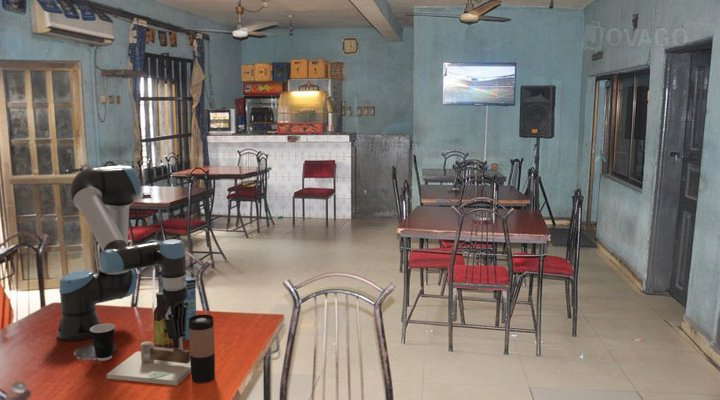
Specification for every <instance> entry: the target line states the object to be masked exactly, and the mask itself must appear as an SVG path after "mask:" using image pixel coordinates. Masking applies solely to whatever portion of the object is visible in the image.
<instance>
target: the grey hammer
mask: <svg viewBox="0 0 720 400" xmlns="http://www.w3.org/2000/svg"><path fill="white" fill-rule="evenodd" d="M140 352H141V362H142V363H151V362H153V361H154V360H161V361H170V362H178V363H186V364H187V363H188V362H189V361H190V350H188V349H187V350H186V349H183V350H179V349H173V348H171V347H169V348H162V347H155V345H154V341H149V340H148V341H143V342H141V343H140Z"/></svg>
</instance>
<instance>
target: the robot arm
mask: <svg viewBox="0 0 720 400" xmlns="http://www.w3.org/2000/svg"><path fill="white" fill-rule="evenodd" d="M140 193H141V181H140V178H139V174H138V172H137V171H136V169H135V168H134V167H132V166H130V165H111V166H99V167H93V166H92V167H88V168H85V169H83V170H81V171H80V172H79V173H77V175H75V176H74V178H73V180H72V181H71V184H70V189H69V196H70V199H71V202H72V203H73V205H74V207H75V208H77V209H79V210H80V212H81V214H82V215H83V217H84V219H85V221H86V223H87V224H88V226H89V228H90V231H91V232H92V234H93V236H94V238H95V239H96V241H97V243H98V245H99V246H100V248H101V250H102V251H101V252H100V254H99V266H98V272H95V273H94V272H93V270H90V269H84V270H77V271H73V272H70V273H68V274H65V275H64V276H63V277H62V278H60V280H59V289H58V290H59V294H60V295H59V296H60V297H59V298H60V306H61V307H60V308H61V309H60V310H61V319H60V321H59V325H58V329H57V337H58V339H60V340H62V341H66V342H67V341H68V342H73V341H75V342H76V341H84V340H87V339H91V338H92V334H91V331H90V328H91V327H93V326H95V325H98V324H102V322H101V320H100V317H99V316H98V314H97V311H96V310H97V309H96V304H100V303H106V302H110V301H114V300H121V299H124V298H127V297H130V296H131V295H133V294H134V292H135V291H136V288H137V277H136V276H137V274H136V271H135V270H136V269H142V268H146V267H153V266H159V267H160V268H161V270H160V271H162V288H164V289H163V300H164V301H166V302H167V313H166V314H163V318H164V320H165V323H166V328H167V333H168V338H169V339H172V340H173V341H172V346H173V347H172V349H179V350H184V349H183V348H184V347H183V346H184V345H183V339H182V336H185V334H183V332H185V331H186V316H187V307H188V302H184V300H185V299H186V298H187V288H186V287H185V286H186V281H187V278H186V276H187V269H186V268H187V267H186V266H187V265H186V249H185V242H184V241H183V240H181V239H176V238H175V239H172V238H171V239H166V240H158V239H150V240H148V241H146V242H145V243H142V244H135V245H129V243H128V242H129V220H130V219H129V218H130V206H132V205H133V204H134V202H135V200H134V199H135V197H137V196H139V195H140Z"/></svg>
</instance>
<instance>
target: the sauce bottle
mask: <svg viewBox="0 0 720 400" xmlns="http://www.w3.org/2000/svg"><path fill="white" fill-rule="evenodd" d="M155 297H156V307H155V308H154V310H153V340H154V341H153V344H154V347H162V348H171V347H172V346H173V339H169V338H168V333H167V328H166V323H165V320H164V318H163V314H166V313H167V302H166V301H164V300H163V292H159V291H158V292H156V293H155Z"/></svg>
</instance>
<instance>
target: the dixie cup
mask: <svg viewBox="0 0 720 400" xmlns="http://www.w3.org/2000/svg"><path fill="white" fill-rule="evenodd" d="M115 328H116V325H115V324H114V323H109V322H105V323H101V324H98V325H95V326H93V327H91V328H90V331H91V334H92V337H91V338H92V343H93V348H94V354H95V357H96V359H97V361H101V362H105V361H108V360H111V359H112V358H113V355H114V343H115V341H114V340H115Z"/></svg>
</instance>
